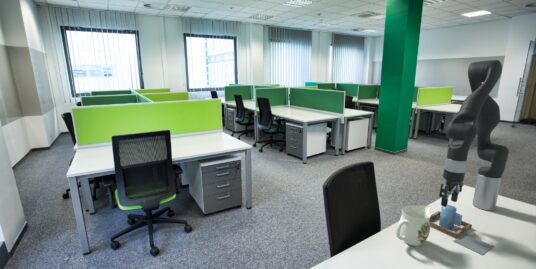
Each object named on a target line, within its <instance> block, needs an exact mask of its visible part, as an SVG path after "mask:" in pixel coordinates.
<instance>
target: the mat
mask: <svg viewBox="0 0 536 269" xmlns="http://www.w3.org/2000/svg"><path fill="white" fill-rule="evenodd" d="M453 242H454V243H456V244H457V245H459V246H462V247H464V248H467V249H469V250H471V251H472V252H474V253H477V254H479V255H481V256H484V254H486V253H488V251H490V250H491V249H493V247H495V246H494V245H492V244H490V243H489V242H485V241H483V240H481V239H479V238H477V237H474V236H472V235H469V234H467V233H463V234H462V235H460V236H459V237H457V238H455V239H454V240H453Z"/></svg>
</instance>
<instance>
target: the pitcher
mask: <svg viewBox="0 0 536 269" xmlns="http://www.w3.org/2000/svg"><path fill="white" fill-rule="evenodd" d="M431 215H432V213H431V206H429V205H406V206H405V205H404V206H402V208H401V216H400V218H399V221H398V222H399V223H398V224H397V226H396V231H395V233H396V234H395V235H396V237H397V239H398V240H400V241H404V243H405V244H407V245H410V246H413V247H420V246H422V245H423V244H424V243H425V242H426V241H427V239H428V237H429V236H430V232H431V227H430V223H429V220H430V217H431ZM430 221H431V220H430Z"/></svg>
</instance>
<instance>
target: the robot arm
mask: <svg viewBox="0 0 536 269" xmlns="http://www.w3.org/2000/svg"><path fill="white" fill-rule="evenodd" d="M467 67H468V68H467V77H468V78H467V79H468V83H469V87H470V91H471V93H470V94H468V95H467V97H466V98H465V99H464V100H463V101H462V104H460V105H461V106H460V108H459V110H458V111H457V113H456V115H455V117H453V119H451V121H450V122H449V123H448V124H447V126H446V129H445V135H446V137H447V138H449V139H451V140H458V141H463V142H462V143H461V144H457V143H456V144H450V145H449V146H448V147H447V154H446V159H445V161H444V168H443V174H442V178H443V179H444V180H445V183H441V184H440V189H439V194H438V197H440V198H441V202H440V206H441V207H442V206H444V207H446V206H447V205H448V203H449V198H450V201H451V202H454V203H457V202H458V197H459V195H460V193H462V190H463V184H464V180H465V174H466V170H467V159H468V155H469V150H470V148H471V146H472V143H473V142H474V141H475V139H476V153H477V156H478V158H479V159H481V160H483V161H486V162H490V163H491V164H490V166H481V167H479V168H478V172H477V177H476V183H475V188H474V192H473V198H472V203H471V204H472V206H474V207H475V208H477V209H480V210H484V211H490V212H491V211H495V210H496V207H497V202H498V197H499V192H500V188H501V182H502V178H503V174H504V172H505V170H506V165H507V162H508V158H509V154H510V153H509V148H508V147H507V146H505V145H503V144H499V143H498V144H497V143H494V142H492V141H491V134H492V133H493V131H494V130H495V129H496V128H497V126H498V125H499V123H500V121H501V109H500V106H499V104H498V103H497V101H496V100H495V99H494V98H493V97H492V96H491V95H490V94H491V92H492V91H493V89H494V88H495V86H496V85H497V83H498V82H499V79H500V78H501V76H502V73H503V72H502V71H503V65H502V62H501V61H500V60H499V59H491V60H489V59H488V60H481V61H475V62H471V63H470V64H469V65H468V66H467ZM470 123H475V125H474V124H470Z"/></svg>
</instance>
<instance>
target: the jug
mask: <svg viewBox="0 0 536 269" xmlns="http://www.w3.org/2000/svg"><path fill="white" fill-rule="evenodd" d="M457 210H458V209H457V207H456V206H454V205H452V204H447V206H446V207H444V206H442V205H441V209H440V212H441V214H440V216H439V222H438V225H439V226H441V227H443V228H446V229H448V230H453V229H454V227H455V226H458V227H462V225H461V221H463V214H460V213H458V212H457Z"/></svg>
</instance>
